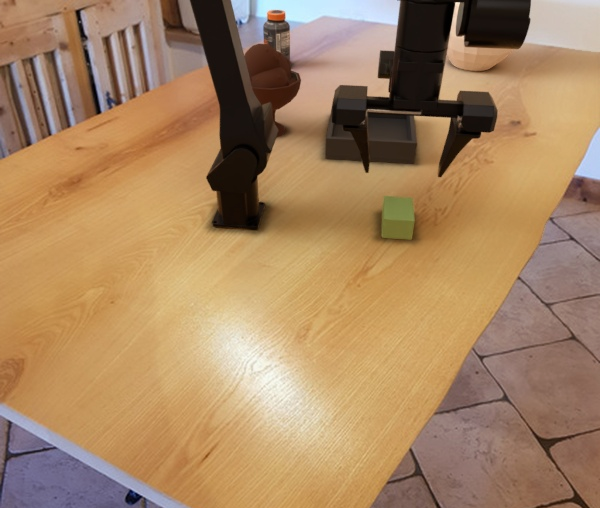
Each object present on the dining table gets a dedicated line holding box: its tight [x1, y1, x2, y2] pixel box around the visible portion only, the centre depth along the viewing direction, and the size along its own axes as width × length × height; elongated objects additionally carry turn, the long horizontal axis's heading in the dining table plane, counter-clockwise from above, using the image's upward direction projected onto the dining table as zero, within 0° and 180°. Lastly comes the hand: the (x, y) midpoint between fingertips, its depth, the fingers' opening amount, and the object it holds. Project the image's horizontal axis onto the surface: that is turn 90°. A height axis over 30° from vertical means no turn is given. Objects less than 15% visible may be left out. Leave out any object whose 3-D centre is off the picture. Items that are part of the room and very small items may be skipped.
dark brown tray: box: [324, 97, 418, 165], centre depth 96 cm, size 18×15×4 cm
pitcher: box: [446, 2, 515, 72], centre depth 119 cm, size 19×18×25 cm
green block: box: [381, 195, 416, 241], centre depth 75 cm, size 6×4×3 cm, turn 174°
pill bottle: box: [262, 9, 291, 61], centre depth 123 cm, size 6×6×11 cm
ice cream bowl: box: [244, 43, 302, 137], centre depth 94 cm, size 11×11×15 cm
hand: (402, 173), depth 70 cm, fingers open, 9 cm apart
